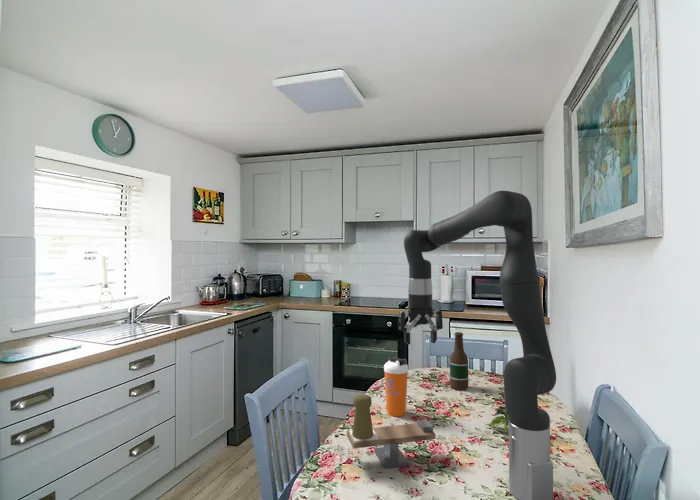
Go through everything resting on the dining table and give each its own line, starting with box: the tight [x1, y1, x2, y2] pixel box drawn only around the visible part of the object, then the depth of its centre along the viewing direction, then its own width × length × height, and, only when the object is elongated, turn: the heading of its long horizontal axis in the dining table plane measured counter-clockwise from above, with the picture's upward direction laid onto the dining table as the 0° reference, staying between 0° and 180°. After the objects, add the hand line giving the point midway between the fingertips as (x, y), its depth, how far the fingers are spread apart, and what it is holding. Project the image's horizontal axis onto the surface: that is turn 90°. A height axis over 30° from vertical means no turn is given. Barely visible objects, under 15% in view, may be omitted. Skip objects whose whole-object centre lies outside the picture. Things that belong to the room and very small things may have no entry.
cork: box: [352, 393, 374, 439], centre depth 114 cm, size 6×6×11 cm
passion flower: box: [489, 403, 509, 433], centre depth 133 cm, size 11×11×12 cm
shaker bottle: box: [383, 356, 409, 418], centre depth 149 cm, size 9×9×20 cm
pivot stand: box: [373, 443, 410, 470], centre depth 116 cm, size 10×7×6 cm
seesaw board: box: [346, 419, 436, 449], centre depth 116 cm, size 24×8×3 cm, turn 103°
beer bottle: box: [449, 331, 469, 391], centre depth 176 cm, size 8×8×24 cm
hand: (420, 343), depth 129 cm, fingers open, 8 cm apart
